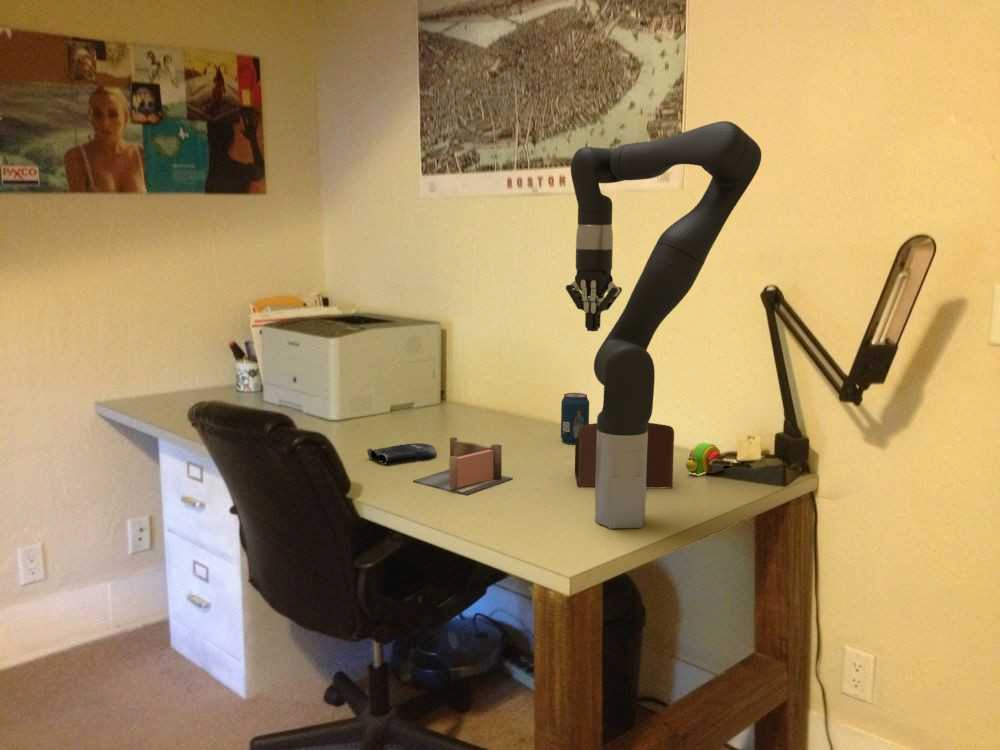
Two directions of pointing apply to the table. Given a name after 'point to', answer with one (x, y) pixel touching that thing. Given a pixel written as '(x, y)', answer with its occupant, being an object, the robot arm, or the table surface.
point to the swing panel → (471, 468)
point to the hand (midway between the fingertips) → (592, 330)
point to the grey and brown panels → (462, 449)
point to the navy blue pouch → (403, 453)
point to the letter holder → (657, 456)
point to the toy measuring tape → (702, 457)
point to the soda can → (573, 416)
